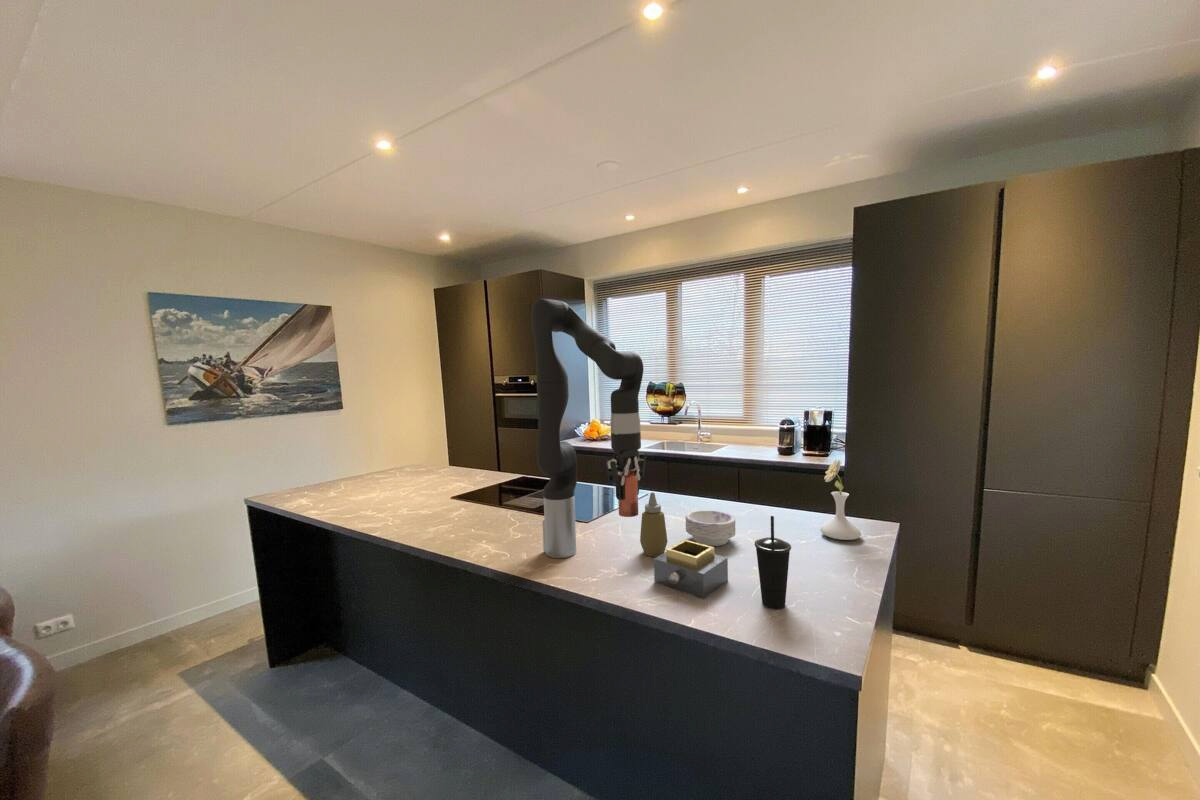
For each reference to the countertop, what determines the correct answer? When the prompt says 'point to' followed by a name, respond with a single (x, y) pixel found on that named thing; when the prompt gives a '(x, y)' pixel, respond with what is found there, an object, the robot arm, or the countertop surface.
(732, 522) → the paper bowls
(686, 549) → the grey drawer box
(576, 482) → the robot arm
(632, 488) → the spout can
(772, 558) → the drinking cup
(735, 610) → the countertop surface
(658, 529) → the squeeze bottle
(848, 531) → the flower in vase
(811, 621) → the countertop surface
